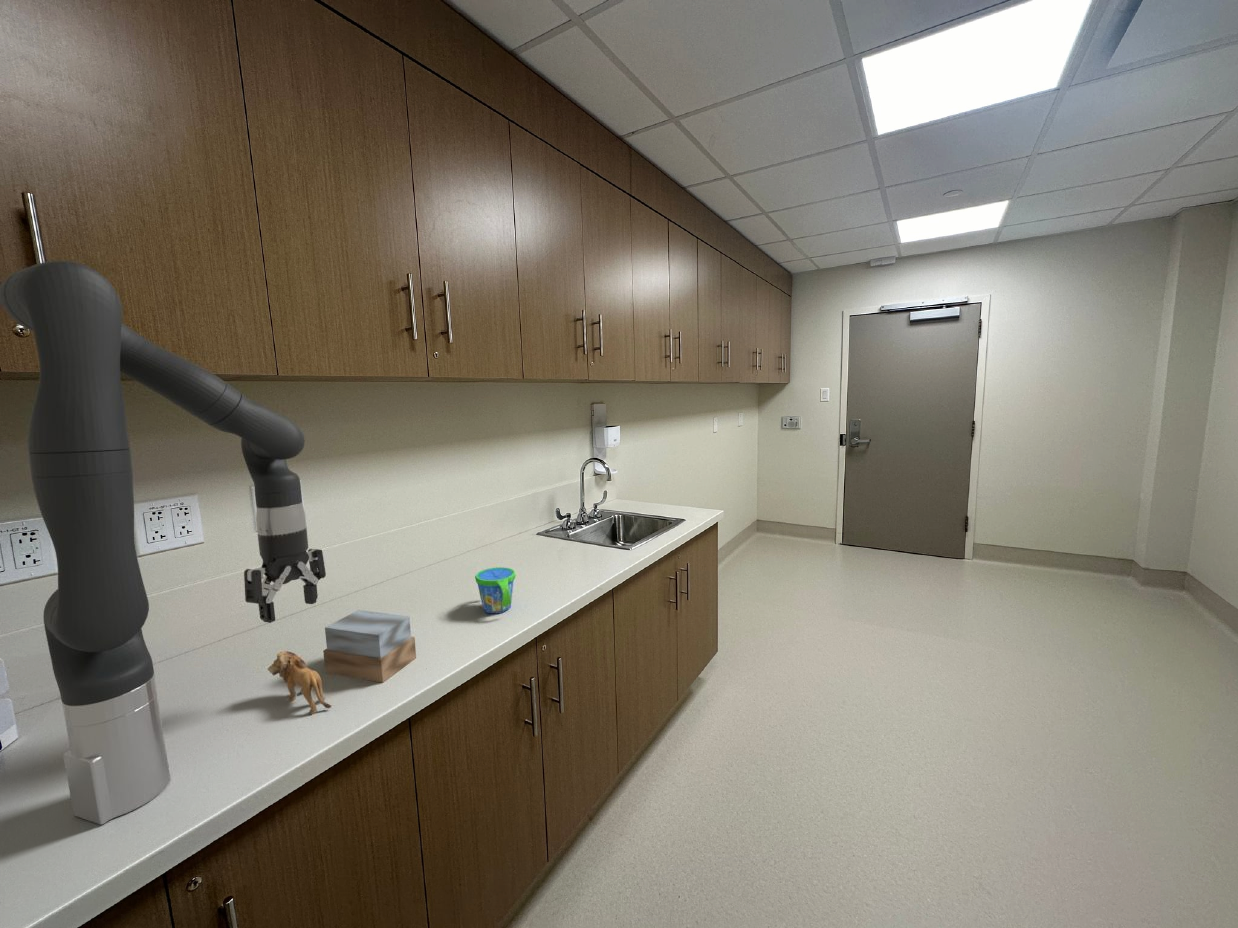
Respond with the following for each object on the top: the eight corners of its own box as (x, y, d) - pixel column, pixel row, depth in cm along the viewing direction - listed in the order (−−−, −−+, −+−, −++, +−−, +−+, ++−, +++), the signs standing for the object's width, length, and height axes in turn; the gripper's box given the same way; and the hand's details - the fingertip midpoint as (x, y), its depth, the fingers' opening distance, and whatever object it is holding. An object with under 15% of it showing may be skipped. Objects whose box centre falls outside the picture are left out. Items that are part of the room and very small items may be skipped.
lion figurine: (267, 700, 95) (262, 656, 94) (295, 685, 100) (290, 644, 99) (318, 718, 89) (313, 672, 88) (345, 701, 94) (340, 657, 93)
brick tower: (383, 682, 100) (378, 636, 99) (325, 672, 104) (320, 628, 103) (416, 657, 110) (412, 615, 108) (362, 649, 114) (358, 608, 113)
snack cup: (524, 615, 131) (522, 578, 129) (484, 624, 126) (482, 586, 125) (508, 595, 144) (506, 562, 143) (472, 602, 140) (470, 568, 138)
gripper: (259, 539, 83) (269, 631, 85) (330, 520, 96) (338, 599, 98) (227, 537, 85) (237, 626, 87) (301, 518, 98) (309, 595, 100)
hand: (291, 611), depth 93 cm, fingers open, 8 cm apart
